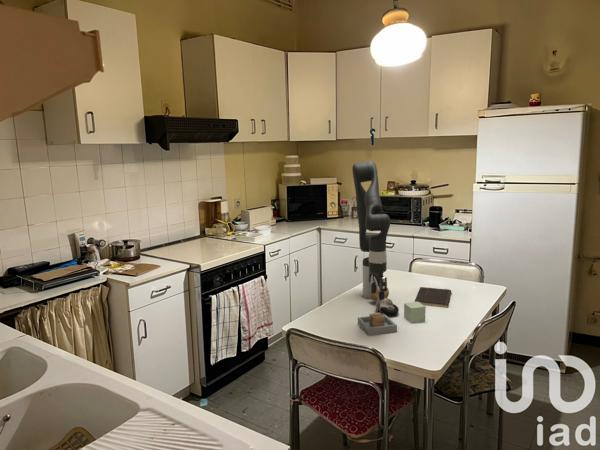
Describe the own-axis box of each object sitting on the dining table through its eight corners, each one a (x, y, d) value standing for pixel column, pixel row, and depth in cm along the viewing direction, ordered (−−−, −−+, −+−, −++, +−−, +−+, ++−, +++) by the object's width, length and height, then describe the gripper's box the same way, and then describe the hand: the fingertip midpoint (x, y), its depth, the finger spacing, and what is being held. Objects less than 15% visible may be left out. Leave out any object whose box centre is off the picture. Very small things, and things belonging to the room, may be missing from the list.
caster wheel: (398, 321, 213) (377, 319, 213) (394, 308, 224) (374, 305, 224) (401, 309, 211) (379, 306, 211) (397, 296, 221) (376, 294, 221)
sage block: (404, 317, 212) (404, 303, 210) (417, 315, 213) (418, 301, 212) (410, 323, 205) (411, 308, 204) (425, 321, 206) (425, 306, 205)
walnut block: (369, 324, 203) (369, 313, 202) (380, 323, 204) (380, 312, 203) (373, 328, 198) (373, 317, 197) (384, 327, 199) (384, 316, 198)
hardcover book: (414, 305, 228) (414, 301, 227) (420, 290, 248) (420, 286, 248) (448, 309, 222) (448, 304, 221) (451, 293, 243) (451, 289, 242)
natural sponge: (380, 307, 224) (380, 288, 222) (366, 303, 231) (366, 284, 229) (392, 303, 230) (392, 284, 228) (378, 298, 237) (378, 280, 235)
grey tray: (357, 323, 206) (357, 317, 205) (384, 320, 208) (384, 314, 208) (368, 335, 193) (368, 328, 193) (397, 331, 196) (397, 325, 195)
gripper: (363, 256, 201) (363, 291, 204) (375, 265, 187) (375, 302, 191) (379, 255, 203) (379, 289, 206) (392, 263, 189) (392, 300, 192)
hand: (377, 296), depth 198 cm, fingers open, 8 cm apart
